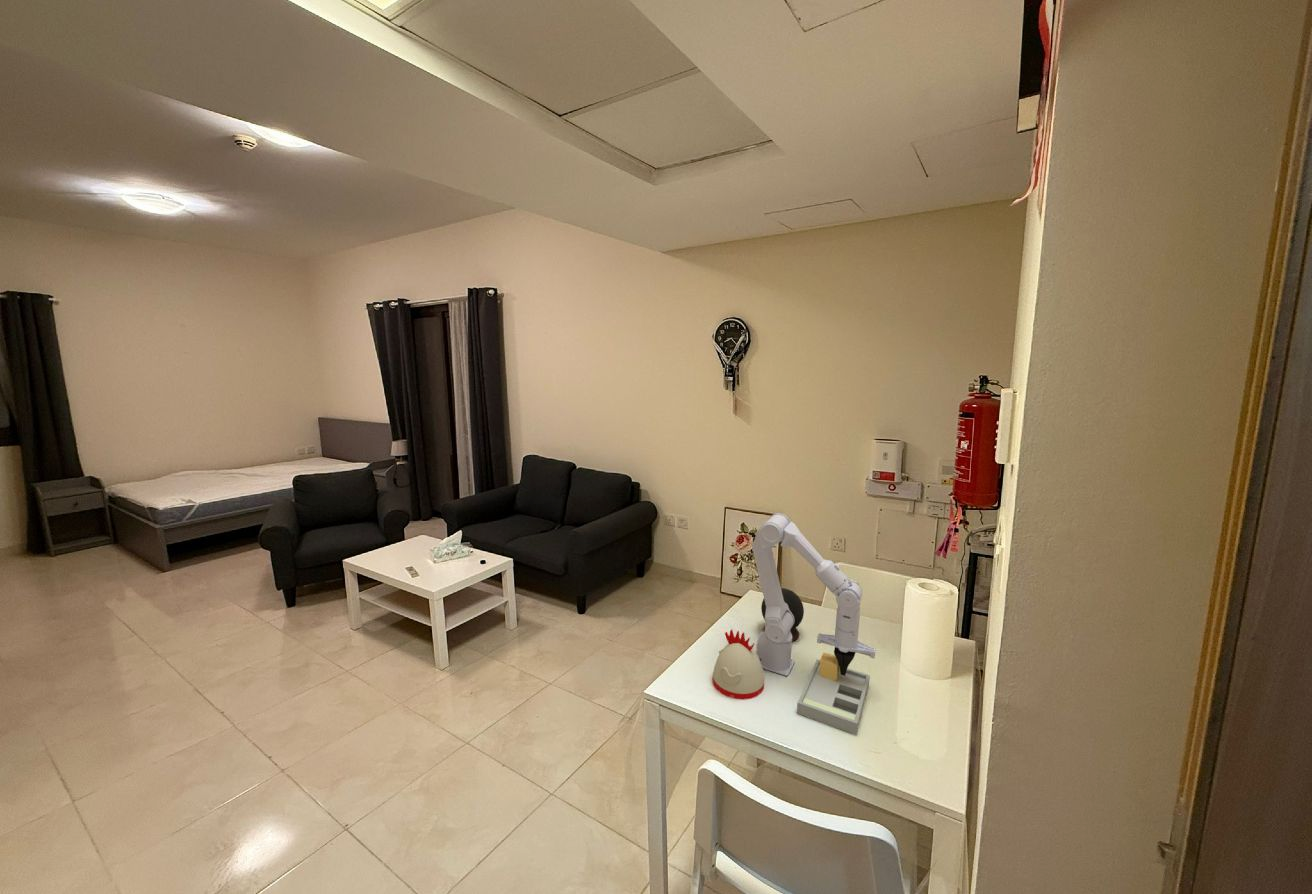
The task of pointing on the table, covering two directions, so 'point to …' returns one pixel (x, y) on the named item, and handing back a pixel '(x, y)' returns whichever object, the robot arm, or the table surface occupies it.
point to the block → (829, 666)
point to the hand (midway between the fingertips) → (843, 673)
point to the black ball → (794, 607)
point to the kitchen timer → (738, 669)
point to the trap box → (834, 699)
